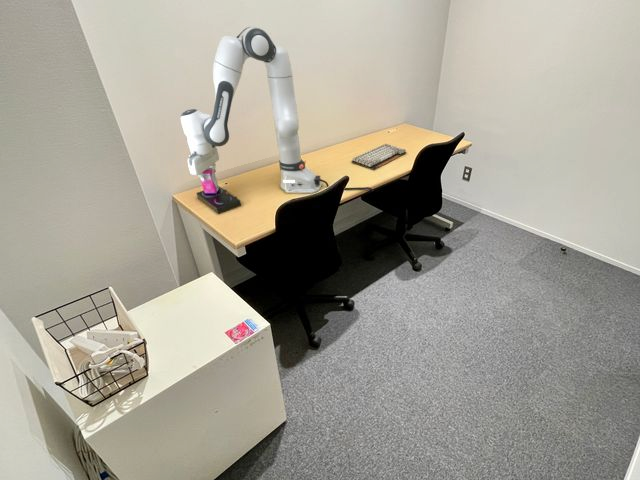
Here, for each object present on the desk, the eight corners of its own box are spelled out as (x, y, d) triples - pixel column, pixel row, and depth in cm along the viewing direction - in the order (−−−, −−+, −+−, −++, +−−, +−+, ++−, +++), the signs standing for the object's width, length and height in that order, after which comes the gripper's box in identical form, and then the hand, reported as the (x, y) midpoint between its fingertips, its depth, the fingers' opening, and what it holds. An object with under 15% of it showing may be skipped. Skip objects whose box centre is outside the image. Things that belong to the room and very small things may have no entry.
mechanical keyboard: (374, 170, 197) (374, 164, 195) (349, 162, 207) (349, 157, 205) (407, 153, 220) (407, 148, 218) (384, 147, 230) (384, 142, 228)
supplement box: (208, 188, 167) (201, 167, 160) (219, 188, 167) (213, 167, 160) (204, 194, 162) (197, 172, 155) (216, 194, 163) (210, 172, 155)
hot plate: (243, 204, 162) (241, 198, 160) (218, 214, 155) (216, 207, 153) (221, 190, 174) (219, 183, 172) (197, 198, 167) (195, 191, 164)
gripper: (193, 157, 143) (203, 186, 152) (217, 141, 158) (224, 168, 167) (180, 156, 144) (190, 185, 153) (205, 140, 159) (213, 167, 168)
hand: (208, 176), depth 160 cm, fingers open, 8 cm apart
